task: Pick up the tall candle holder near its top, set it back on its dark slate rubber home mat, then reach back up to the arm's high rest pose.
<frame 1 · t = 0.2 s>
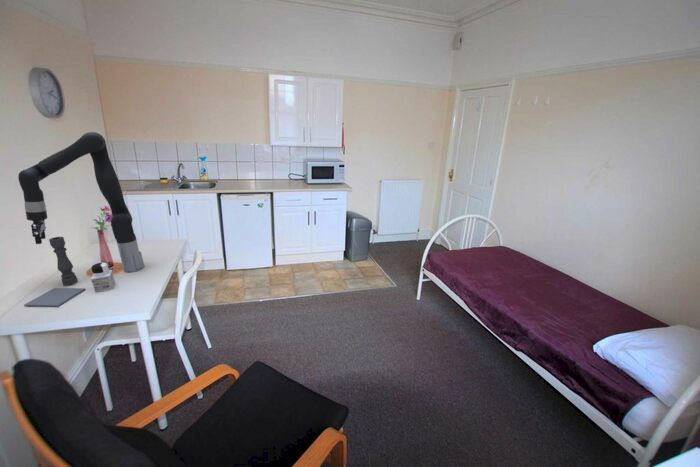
hand: (40, 241, 168), 23 cm above the table, tool pointing down, fingers open, 8 cm apart
home mat: (56, 297, 161), on the table
container: (105, 287, 170), on the table
candle holder: (70, 283, 175), on the table
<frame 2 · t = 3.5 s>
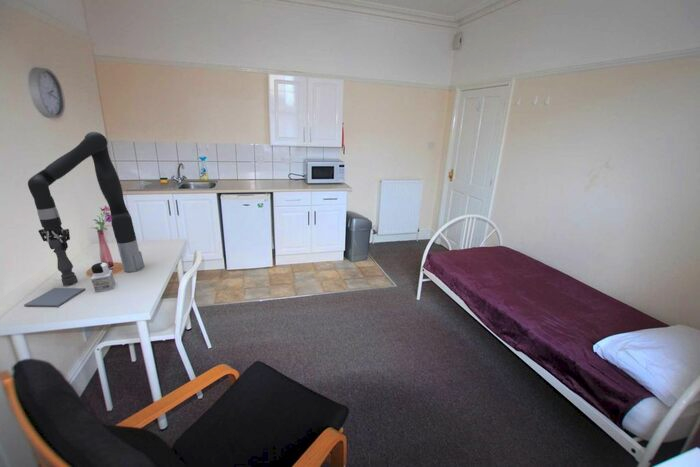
hand: (59, 248, 169), 20 cm above the table, tool pointing down, fingers closed on candle holder, 5 cm apart
candle holder: (70, 283, 175), on the table, touching gripper
everything else where it was.
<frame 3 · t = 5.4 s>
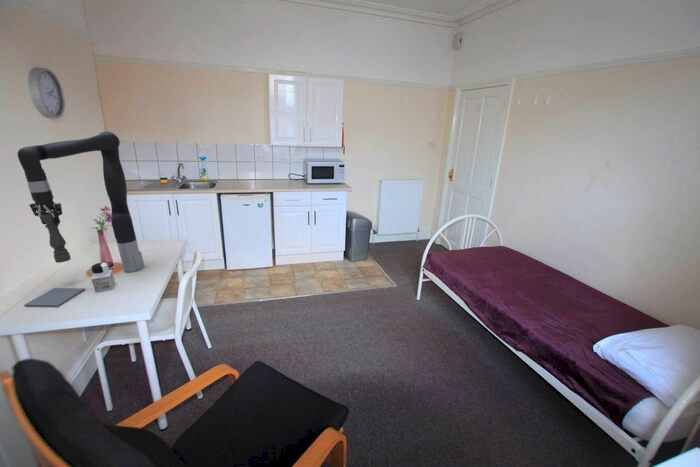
hand: (51, 223, 164), 33 cm above the table, tool pointing down, fingers closed on candle holder, 5 cm apart
candle holder: (63, 260, 171), point 13 cm above the table, touching gripper
everything else where it was.
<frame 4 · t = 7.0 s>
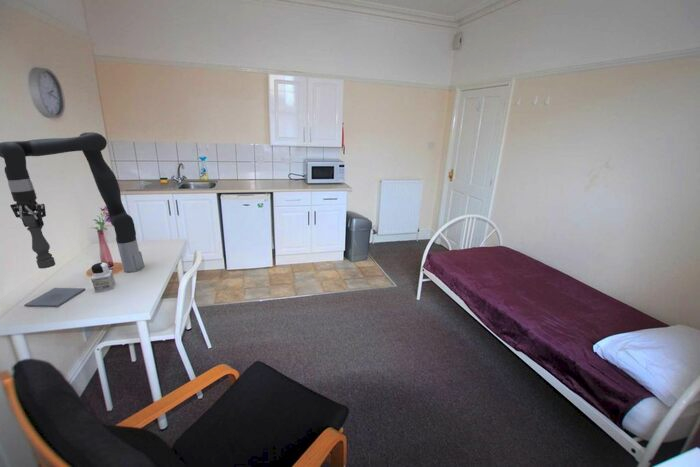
hand: (34, 226, 150), 36 cm above the table, tool pointing down, fingers closed on candle holder, 5 cm apart
candle holder: (47, 266, 157), point 16 cm above the table, touching gripper
everything else where it was.
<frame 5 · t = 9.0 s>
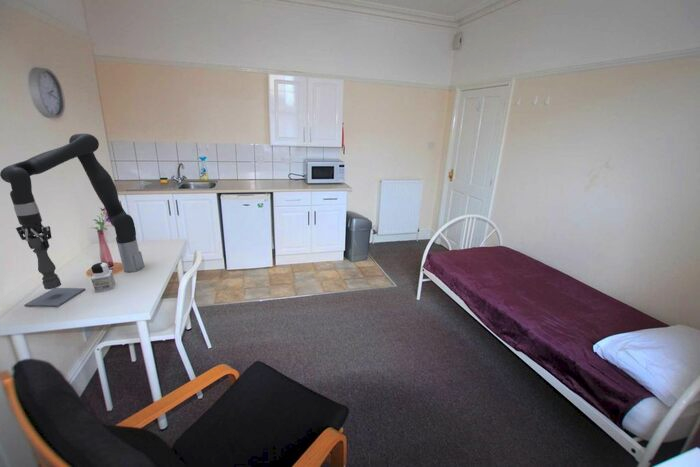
hand: (40, 248, 152), 26 cm above the table, tool pointing down, fingers closed on candle holder, 5 cm apart
candle holder: (53, 286, 159), point 6 cm above the table, touching gripper
everything else where it was.
when the fingers open (22 cm above the table, at t = 10.7 s): candle holder drops 1 cm, resting on home mat.
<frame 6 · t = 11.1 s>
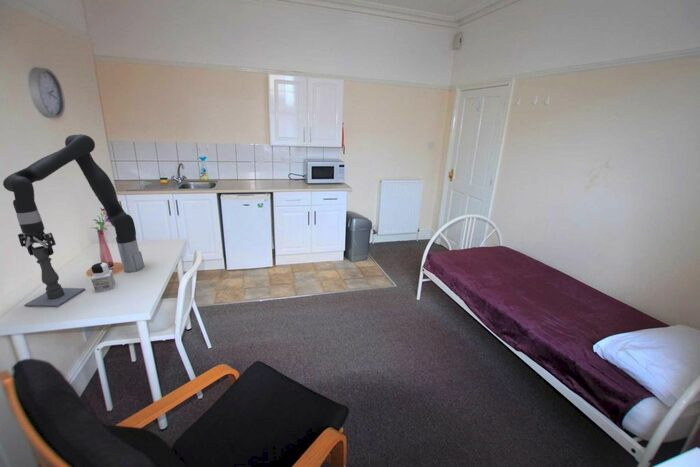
hand: (41, 254, 153), 23 cm above the table, tool pointing down, fingers open, 8 cm apart
candle holder: (56, 296, 160), point 1 cm above the table, touching home mat
everything else where it was.
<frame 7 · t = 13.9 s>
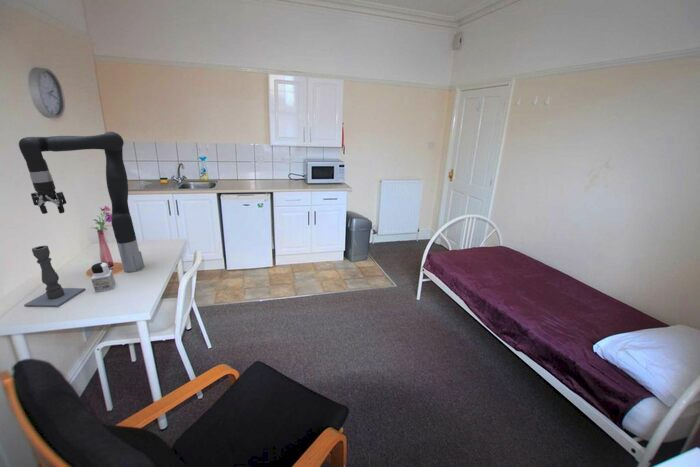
hand: (53, 213, 164), 38 cm above the table, tool pointing down, fingers open, 8 cm apart
nothing on the table moved.
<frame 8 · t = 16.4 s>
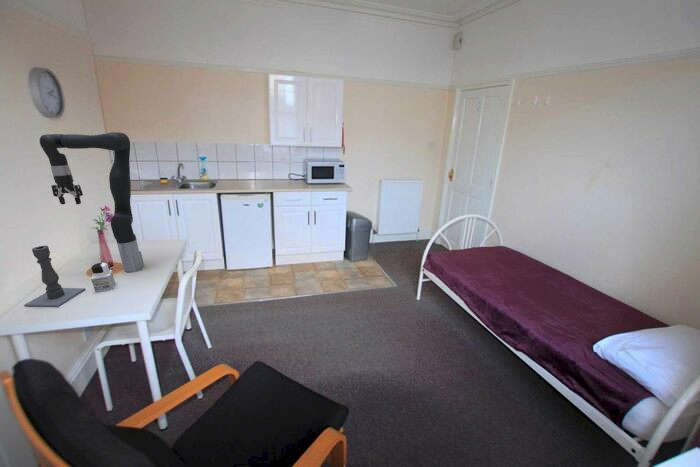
hand: (71, 204, 179), 38 cm above the table, tool pointing down, fingers open, 8 cm apart
nothing on the table moved.
at the end: candle holder inside the target area on the home mat (0.1 cm from its centre), point 0.8 cm above the home mat's base; candle holder tilted 0°; the gripper is holding nothing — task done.
